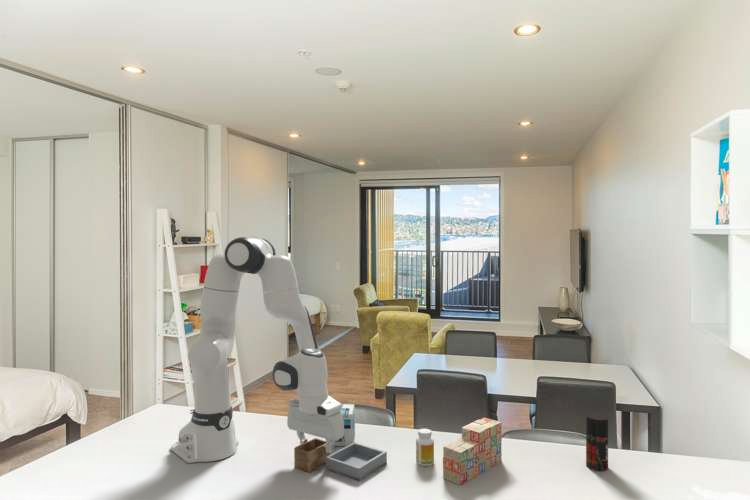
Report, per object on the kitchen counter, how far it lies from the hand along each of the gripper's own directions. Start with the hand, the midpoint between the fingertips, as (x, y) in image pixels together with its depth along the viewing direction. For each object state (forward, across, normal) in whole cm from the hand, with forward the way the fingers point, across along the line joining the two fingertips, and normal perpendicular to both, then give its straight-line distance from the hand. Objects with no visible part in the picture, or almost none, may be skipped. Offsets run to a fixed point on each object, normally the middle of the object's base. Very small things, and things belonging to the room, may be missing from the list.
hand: (315, 448), depth 149 cm
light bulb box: (+5, -4, +19) cm, 20 cm away
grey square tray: (+5, +11, +6) cm, 13 cm away
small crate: (+5, 0, -1) cm, 5 cm away
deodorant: (+7, +71, +45) cm, 84 cm away
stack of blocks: (+6, +41, +23) cm, 47 cm away
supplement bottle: (+6, +27, +19) cm, 34 cm away
